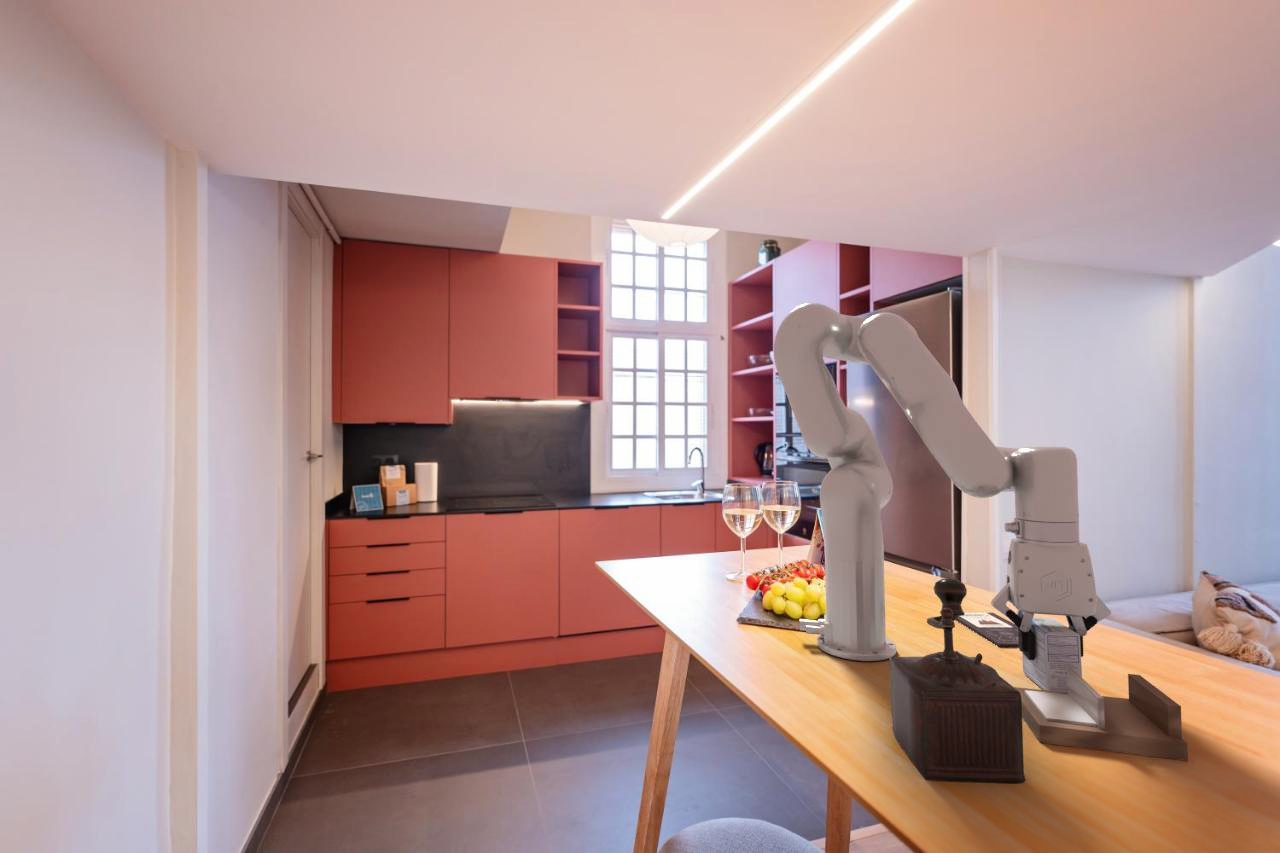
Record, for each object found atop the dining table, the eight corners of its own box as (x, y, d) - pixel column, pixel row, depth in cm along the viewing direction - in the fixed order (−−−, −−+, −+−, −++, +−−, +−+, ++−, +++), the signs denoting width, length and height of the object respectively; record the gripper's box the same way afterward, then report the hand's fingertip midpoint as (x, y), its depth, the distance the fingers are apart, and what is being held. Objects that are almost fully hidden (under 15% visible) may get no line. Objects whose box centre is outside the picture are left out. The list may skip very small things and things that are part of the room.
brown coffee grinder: (1035, 785, 60) (1029, 609, 60) (923, 781, 61) (919, 608, 61) (963, 714, 75) (959, 574, 76) (875, 712, 76) (872, 574, 77)
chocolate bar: (998, 644, 99) (947, 612, 117) (998, 649, 99) (947, 617, 117) (1053, 644, 98) (992, 612, 116) (1053, 649, 98) (993, 617, 116)
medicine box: (1083, 698, 79) (1081, 634, 79) (1047, 696, 80) (1045, 632, 80) (1055, 675, 87) (1053, 617, 87) (1021, 673, 88) (1020, 615, 88)
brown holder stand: (1039, 742, 68) (1038, 694, 68) (1011, 701, 78) (1010, 660, 79) (1188, 761, 64) (1186, 710, 64) (1136, 715, 74) (1135, 671, 74)
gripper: (987, 534, 83) (990, 662, 83) (1130, 538, 78) (1135, 675, 77) (974, 526, 90) (977, 644, 90) (1105, 530, 85) (1109, 655, 85)
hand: (1050, 657), depth 84 cm, fingers closed on medicine box, 4 cm apart
